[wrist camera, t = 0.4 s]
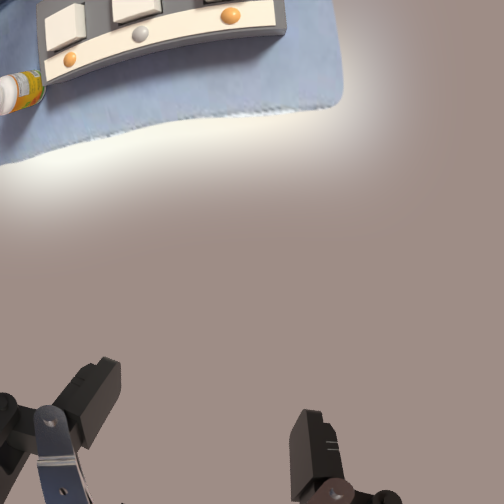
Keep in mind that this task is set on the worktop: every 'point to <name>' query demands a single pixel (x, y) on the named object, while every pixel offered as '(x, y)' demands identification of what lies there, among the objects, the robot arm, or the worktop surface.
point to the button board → (151, 31)
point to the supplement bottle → (20, 91)
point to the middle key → (135, 10)
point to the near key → (216, 1)
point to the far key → (65, 27)
